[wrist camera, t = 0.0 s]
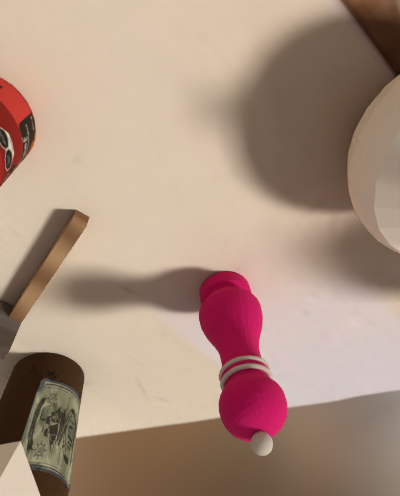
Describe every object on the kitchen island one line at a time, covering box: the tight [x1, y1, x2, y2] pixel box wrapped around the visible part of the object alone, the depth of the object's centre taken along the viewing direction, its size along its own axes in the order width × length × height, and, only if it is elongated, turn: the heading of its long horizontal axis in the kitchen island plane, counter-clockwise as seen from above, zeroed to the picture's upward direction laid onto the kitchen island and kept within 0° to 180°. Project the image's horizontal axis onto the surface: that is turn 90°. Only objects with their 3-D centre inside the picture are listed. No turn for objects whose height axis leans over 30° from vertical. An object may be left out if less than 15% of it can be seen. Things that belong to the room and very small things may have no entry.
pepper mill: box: [199, 272, 287, 456], centre depth 37 cm, size 7×7×20 cm
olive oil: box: [0, 353, 84, 496], centre depth 40 cm, size 11×11×25 cm
